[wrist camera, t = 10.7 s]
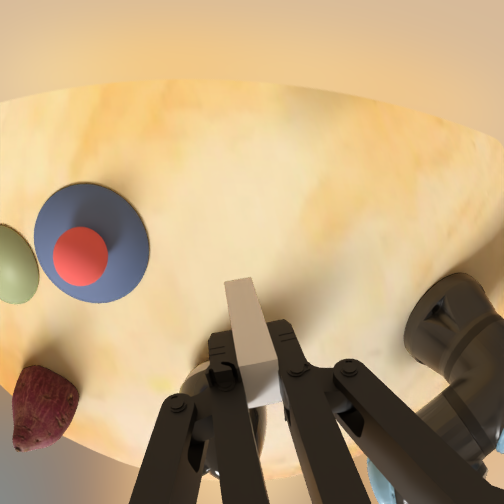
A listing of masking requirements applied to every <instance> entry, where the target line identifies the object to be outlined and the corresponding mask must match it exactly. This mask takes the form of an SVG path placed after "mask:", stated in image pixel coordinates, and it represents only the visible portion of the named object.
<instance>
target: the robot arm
mask: <svg viewBox="0 0 504 504" xmlns="http://www.w3.org/2000/svg"><path fill="white" fill-rule="evenodd" d="M224 285H225V291H226V298H227V304H228V310H229V316H230V321H231V327H232V330H229V331H224V332H218V333H212V334H211V336H210V338H209V340H208V347H209V360H210V365H209V366H208V367H207V369H206V372H205V375H206V378H207V381H208V384H209V386H208V387H207V388H206V389H205V390H204V391H203V392H201V393H199V394H197V395H194V396H192V397H190V396H189V395H188V394H184V393H177V394H173V395H171V396H169V397H168V398H166V399H165V400H164V402H163V404H162V406H161V409H160V412H159V415H158V417H157V420H156V423H155V426H154V429H153V432H152V435H151V438H150V441H149V444H148V447H147V450H146V453H145V456H144V459H143V462H142V465H141V468H140V471H139V474H138V477H137V480H136V483H135V486H134V489H133V492H132V495H131V498H130V502H129V504H196V502H197V497H198V492H199V488H200V482H201V478H202V473H203V468H204V463H205V458H206V453H207V448H208V443H209V439H211V438H213V437H215V447H216V455H217V464H218V472H219V480H220V487H221V495H222V502H223V504H270V503H269V499H268V494H267V490H266V486H265V481H264V477H263V472H262V468H261V463H260V459H259V454H258V450H257V445H256V440H255V436H254V431H253V426H252V422H251V417H250V413H249V408H254V407H259V406H264V405H269V404H274V403H278V402H282V401H283V404H284V414H285V421H287V422H288V426H289V429H290V432H291V436H292V439H293V442H294V446H295V449H296V452H297V456H298V459H299V462H300V465H301V469H302V472H303V475H304V478H305V481H306V485H307V488H308V491H309V495H310V498H311V501H312V504H371V501H370V499H369V497H368V494H367V492H366V490H365V487H364V485H363V483H362V480H361V478H360V475H359V473H358V471H357V468H356V466H355V464H354V461H353V459H352V457H351V454H350V452H349V450H348V447H347V445H346V442H345V440H344V438H343V435H342V433H341V431H340V428H339V426H338V424H337V422H336V420H337V421H338V422H339V424H340V425H341V426H342V427H343V428H344V430H345V431H346V432H347V433H348V435H349V436H350V437H351V438H352V439H353V440H354V442H355V443H356V444H357V445H358V446H359V448H360V449H361V450H362V451H363V452H364V454H365V455H366V456H367V470H368V475H369V480H370V483H371V486H372V489H373V492H374V494H375V497H376V499H377V501H378V502H379V504H504V490H503V489H500V488H498V487H495V486H492V485H491V484H489V482H487V481H486V480H485V478H486V476H487V472H488V469H487V467H486V466H485V464H484V463H483V461H482V460H483V459H484V458H485V457H486V456H487V455H488V454H489V453H491V452H492V451H493V450H494V449H496V450H497V452H500V453H501V454H504V319H503V318H502V317H501V316H500V315H499V314H498V313H497V312H496V311H495V309H494V307H493V305H492V304H491V302H490V301H489V299H488V297H487V296H486V294H485V291H484V290H483V287H482V286H481V285H480V283H479V282H477V281H476V280H475V279H474V278H472V277H471V276H469V275H468V274H464V273H457V274H453V275H450V276H448V277H446V278H444V279H442V280H441V281H439V282H438V283H437V284H435V285H434V286H433V287H432V288H431V289H430V290H429V291H428V292H427V293H426V294H425V295H424V296H423V297H422V298H421V300H420V301H419V302H418V304H417V305H416V307H415V308H414V310H413V312H412V313H411V315H410V317H409V320H408V322H407V325H406V328H405V333H404V344H405V347H406V349H407V350H408V352H409V353H410V354H411V356H412V357H413V358H414V359H415V360H416V361H417V362H419V363H421V364H424V365H427V366H428V367H430V368H431V369H433V370H434V371H436V372H437V373H439V374H440V375H442V376H443V377H444V378H445V379H446V381H447V382H448V383H449V384H450V385H449V386H448V387H447V388H446V389H445V390H444V391H443V392H441V393H440V394H439V395H438V396H436V397H435V398H434V399H433V400H432V401H430V402H429V403H428V404H427V405H425V406H424V407H423V408H421V409H420V410H419V411H418V412H416V413H414V412H413V411H412V410H411V409H410V408H409V407H408V406H407V405H406V404H405V403H404V402H403V401H402V400H401V399H400V398H398V397H397V396H396V395H395V394H394V393H393V392H392V391H391V390H390V389H389V388H388V387H387V386H386V385H385V384H384V383H383V382H382V381H381V380H380V379H378V378H377V377H376V376H375V375H374V374H373V373H372V372H371V371H370V370H369V369H368V368H367V367H366V366H365V365H364V364H363V363H361V362H360V361H358V360H355V359H344V360H341V361H339V362H338V363H336V364H335V366H334V368H319V367H315V366H313V365H311V364H310V363H309V362H307V360H306V358H305V356H304V354H303V351H302V349H301V347H300V344H299V342H298V340H297V338H296V335H295V333H294V330H293V328H292V326H291V324H290V323H288V322H287V321H286V320H284V319H283V320H278V321H273V322H268V323H266V322H265V319H264V315H263V312H262V309H261V306H260V303H259V300H258V297H257V294H256V291H255V288H254V285H253V281H252V278H251V277H249V278H243V279H238V280H232V281H227V282H224Z"/></svg>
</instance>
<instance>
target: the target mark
mask: <svg viewBox="0 0 504 504" xmlns="http://www.w3.org/2000/svg"><path fill="white" fill-rule="evenodd" d="M75 227H86V228H90V229H92V230H94V231H95V232H97V233H98V234H99V235H100V236H101V237H102V239H103V240H104V242H105V244H106V247H107V251H108V263H107V266H106V269H105V271H104V273H103V274H102V276H101V277H100V278H99V279H98V280H97V281H95V282H94V283H92V284H90V285H86V286H75V285H72V284H69V283H67V282H66V281H65V280H63V279H62V278H61V277H60V275H59V274H58V273H57V271H56V269H55V266H54V262H53V251H54V247H55V244H56V242H57V240H58V239H59V237H60V236H61V235H62V234H63V233H64V232H66V231H67V230H69V229H71V228H75ZM34 245H35V250H36V254H37V257H38V260H39V262H40V265H41V267H42V269H43V270H44V272H45V274H46V275H47V276H48V278H49V279H50V280H51V281H52V282H53V283H54V284H55V285H56V286H57V287H58V288H59V289H60V290H62V291H63V292H65V293H66V294H68V295H70V296H71V297H73V298H76V299H78V300H81V301H85V302H90V303H107V302H111V301H115V300H118V299H120V298H122V297H124V296H126V295H127V294H128V293H130V292H131V291H132V290H133V289H134V288H135V287H136V286H137V285H138V283H139V282H140V281H141V279H142V277H143V275H144V273H145V270H146V267H147V263H148V256H149V245H148V239H147V234H146V231H145V228H144V226H143V223H142V221H141V219H140V218H139V216H138V214H137V213H136V211H135V210H134V209H133V208H132V206H131V205H130V204H129V203H128V202H127V201H126V200H125V199H123V198H122V197H121V196H119V195H118V194H116V193H115V192H113V191H111V190H109V189H107V188H104V187H101V186H97V185H92V184H77V185H72V186H69V187H66V188H63V189H62V190H60V191H58V192H56V193H55V194H54V195H53V196H51V197H50V198H49V199H48V200H47V201H46V202H45V204H44V205H43V207H42V208H41V210H40V212H39V214H38V217H37V220H36V224H35V229H34Z"/></svg>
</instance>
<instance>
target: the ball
mask: <svg viewBox="0 0 504 504" xmlns="http://www.w3.org/2000/svg"><path fill="white" fill-rule="evenodd" d="M53 262H54V266H55V269H56V271H57V273H58V274H59V275H60V277H61V278H62V279H63V280H65V281H66V282H67V283H69V284H72V285H75V286H86V285H90V284H92V283H94V282H95V281H97V280H98V279H99V278H100V277H101V276H102V274H103V273H104V271H105V269H106V266H107V263H108V251H107V247H106V244H105V242H104V240H103V239H102V237H101V236H100V235H99V234H98V233H97V232H95V231H94V230H92V229H90V228H86V227H75V228H71V229H69V230H67V231H66V232H64V233H63V234H62V235H61V236H60V237H59V239H58V240H57V242H56V244H55V247H54V251H53Z"/></svg>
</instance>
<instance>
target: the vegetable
mask: <svg viewBox="0 0 504 504" xmlns="http://www.w3.org/2000/svg"><path fill="white" fill-rule="evenodd" d="M78 401H79V394H78V391H77V389H76V388H75V386H74V385H73V384H72V383H70V382H69V381H68V380H67V379H65V378H64V377H62V376H60V375H58V374H56V373H55V372H53V371H51V370H49V369H47V368H44V367H41V366H39V365H37V366H36V365H34V366H30V367H27V368H25V369H23V370H22V372H21V374H20V376H19V378H18V380H17V383H16V386H15V389H14V393H13V398H12V410H13V421H14V433H13V445H14V448H15V450H16V451H17V452H27V451H31V450H35V449H40V448H44V447H47V446H50V445H52V444H53V443H55V442H56V441H57V440H59V439H60V438H61V436H62V435H63V433H64V432H65V431H66V429H67V428H68V427H69V425H70V423H71V421H72V419H73V417H74V414H75V412H76V409H77V406H78Z"/></svg>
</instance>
